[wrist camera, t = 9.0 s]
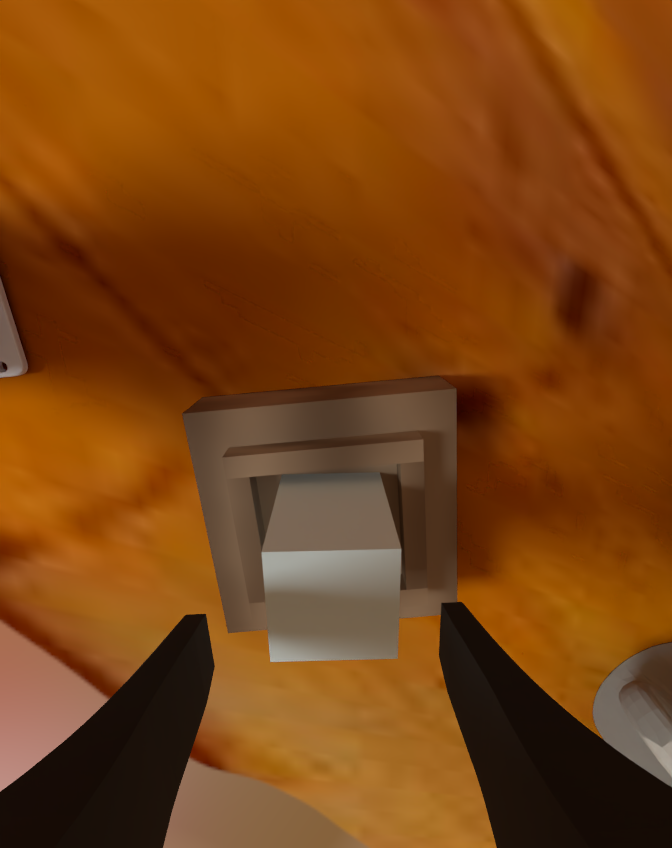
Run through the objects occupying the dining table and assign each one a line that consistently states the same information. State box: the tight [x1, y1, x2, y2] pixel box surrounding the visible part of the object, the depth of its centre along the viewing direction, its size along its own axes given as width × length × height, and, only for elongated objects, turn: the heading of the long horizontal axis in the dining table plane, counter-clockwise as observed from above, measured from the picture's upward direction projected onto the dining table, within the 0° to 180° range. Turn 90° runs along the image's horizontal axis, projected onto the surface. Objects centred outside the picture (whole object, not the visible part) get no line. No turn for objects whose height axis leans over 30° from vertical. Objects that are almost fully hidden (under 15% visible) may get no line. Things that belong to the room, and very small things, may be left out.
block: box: [261, 472, 401, 662], centre depth 17 cm, size 4×4×6 cm
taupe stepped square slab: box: [182, 376, 457, 633], centre depth 21 cm, size 12×12×4 cm
